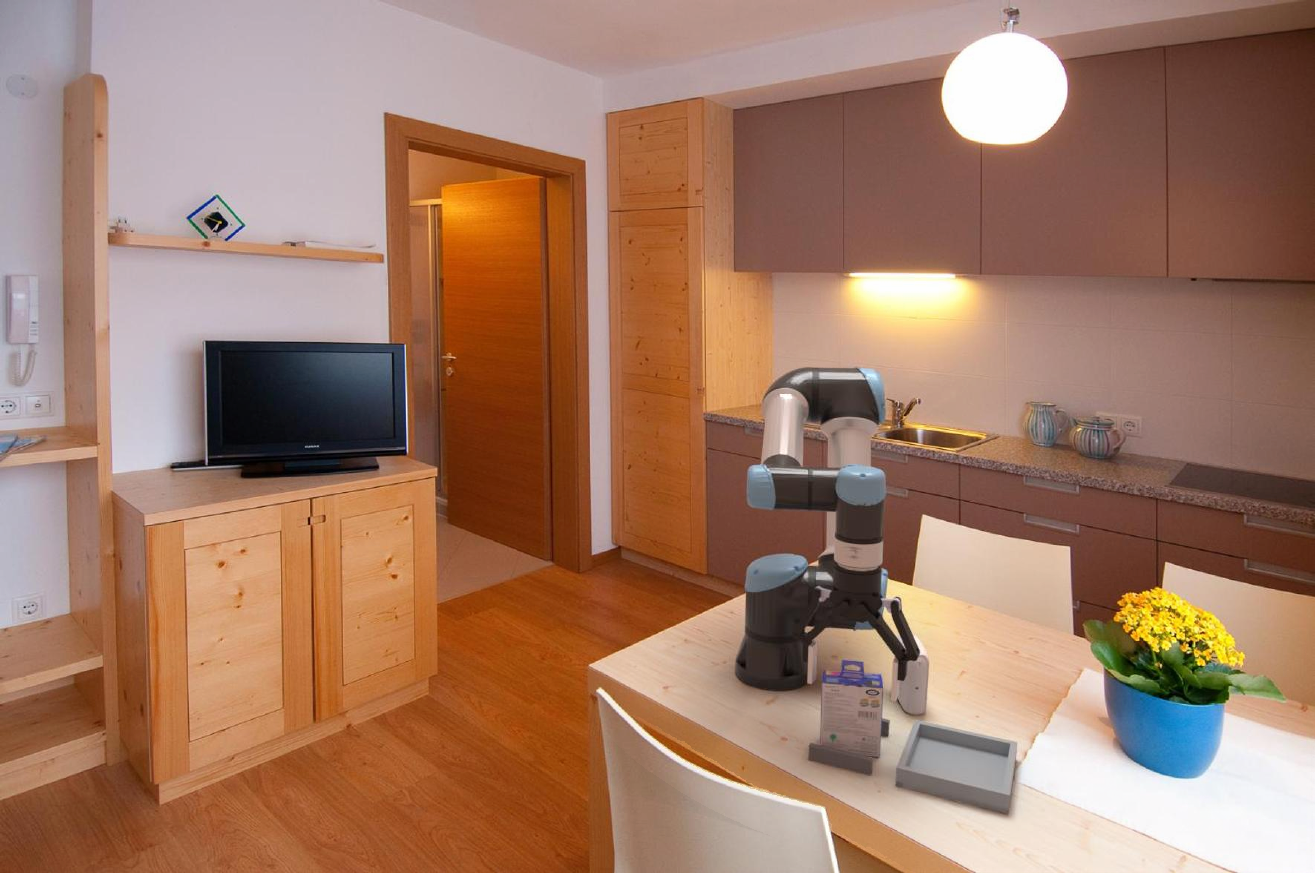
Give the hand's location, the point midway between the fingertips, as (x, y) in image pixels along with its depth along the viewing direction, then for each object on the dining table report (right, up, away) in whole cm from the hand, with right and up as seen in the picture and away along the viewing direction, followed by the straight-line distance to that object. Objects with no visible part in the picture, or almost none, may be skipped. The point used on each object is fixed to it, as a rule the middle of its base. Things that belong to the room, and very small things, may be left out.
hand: (852, 689), depth 139 cm
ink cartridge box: (0, -10, +2) cm, 11 cm away
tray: (+15, -11, -5) cm, 20 cm away
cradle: (0, -10, +2) cm, 10 cm away
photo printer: (+14, -8, +17) cm, 24 cm away
